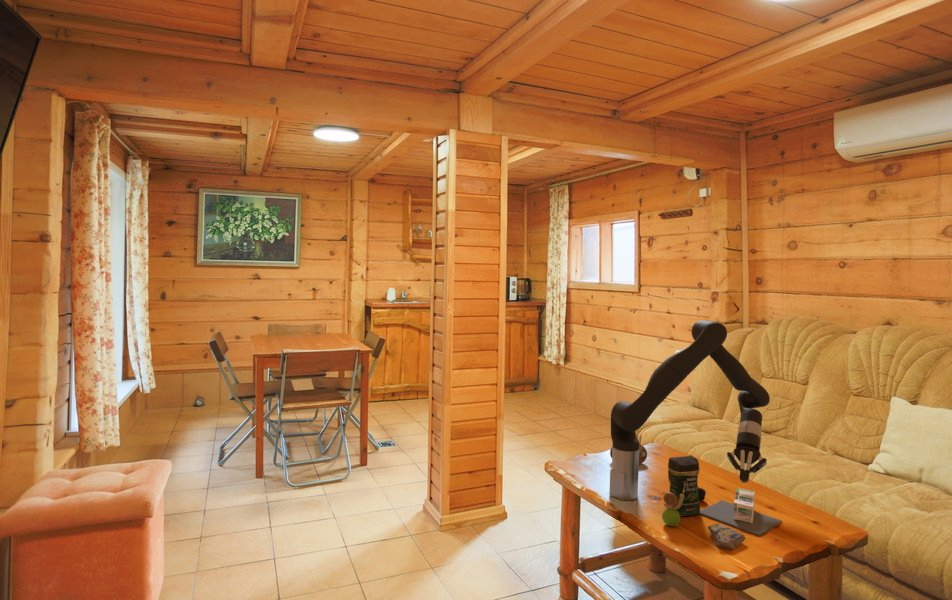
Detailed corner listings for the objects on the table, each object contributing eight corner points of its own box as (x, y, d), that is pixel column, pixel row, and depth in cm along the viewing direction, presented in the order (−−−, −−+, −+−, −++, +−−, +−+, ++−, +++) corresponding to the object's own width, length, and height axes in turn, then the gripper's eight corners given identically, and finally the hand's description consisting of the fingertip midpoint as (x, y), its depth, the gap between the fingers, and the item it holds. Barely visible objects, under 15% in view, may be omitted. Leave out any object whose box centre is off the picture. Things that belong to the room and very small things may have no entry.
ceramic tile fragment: (700, 521, 174) (732, 521, 174) (700, 532, 174) (731, 531, 174) (719, 541, 162) (753, 541, 162) (719, 552, 162) (752, 551, 162)
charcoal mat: (759, 536, 171) (759, 534, 171) (697, 513, 187) (697, 511, 187) (781, 522, 181) (782, 520, 181) (721, 501, 197) (721, 500, 197)
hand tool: (706, 502, 197) (706, 486, 197) (692, 502, 196) (693, 486, 196) (676, 478, 219) (677, 464, 219) (665, 478, 219) (665, 464, 219)
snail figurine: (681, 531, 173) (682, 493, 173) (659, 526, 177) (661, 488, 176) (684, 525, 178) (686, 487, 177) (664, 520, 181) (665, 483, 181)
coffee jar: (677, 518, 182) (675, 462, 181) (665, 508, 190) (663, 454, 189) (704, 515, 184) (703, 459, 183) (691, 505, 192) (690, 451, 191)
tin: (610, 464, 234) (611, 444, 233) (609, 461, 237) (609, 441, 236) (647, 464, 234) (647, 444, 233) (644, 462, 237) (645, 442, 236)
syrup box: (755, 491, 191) (753, 505, 178) (754, 508, 191) (752, 524, 178) (736, 487, 193) (733, 501, 181) (735, 504, 194) (732, 520, 181)
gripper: (728, 428, 200) (721, 472, 190) (769, 434, 194) (765, 480, 184) (729, 439, 205) (723, 482, 195) (770, 445, 198) (766, 491, 188)
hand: (743, 481), depth 189 cm, fingers closed
